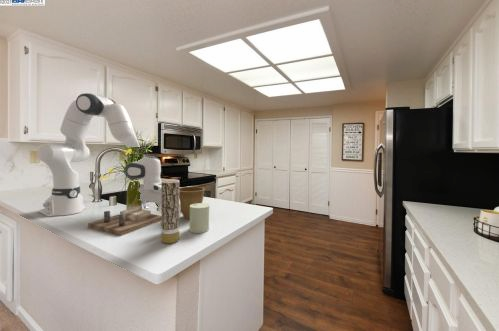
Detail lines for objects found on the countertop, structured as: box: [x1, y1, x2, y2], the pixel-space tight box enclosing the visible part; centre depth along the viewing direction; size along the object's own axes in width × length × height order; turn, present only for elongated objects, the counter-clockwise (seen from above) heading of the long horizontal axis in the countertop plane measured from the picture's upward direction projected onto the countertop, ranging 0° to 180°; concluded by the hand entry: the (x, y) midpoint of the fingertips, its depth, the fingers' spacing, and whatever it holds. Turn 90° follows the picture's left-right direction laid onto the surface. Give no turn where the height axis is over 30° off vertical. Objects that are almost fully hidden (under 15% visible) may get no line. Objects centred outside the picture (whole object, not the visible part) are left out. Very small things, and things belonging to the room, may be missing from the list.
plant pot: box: [179, 186, 205, 220], centre depth 121 cm, size 15×15×16 cm
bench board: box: [87, 210, 161, 237], centre depth 109 cm, size 22×24×7 cm
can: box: [188, 202, 211, 234], centre depth 104 cm, size 9×9×12 cm
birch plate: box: [119, 207, 152, 221], centre depth 113 cm, size 12×8×3 cm, turn 68°
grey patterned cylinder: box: [160, 178, 180, 245], centre depth 90 cm, size 7×7×25 cm
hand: (152, 209), depth 124 cm, fingers open, 8 cm apart
